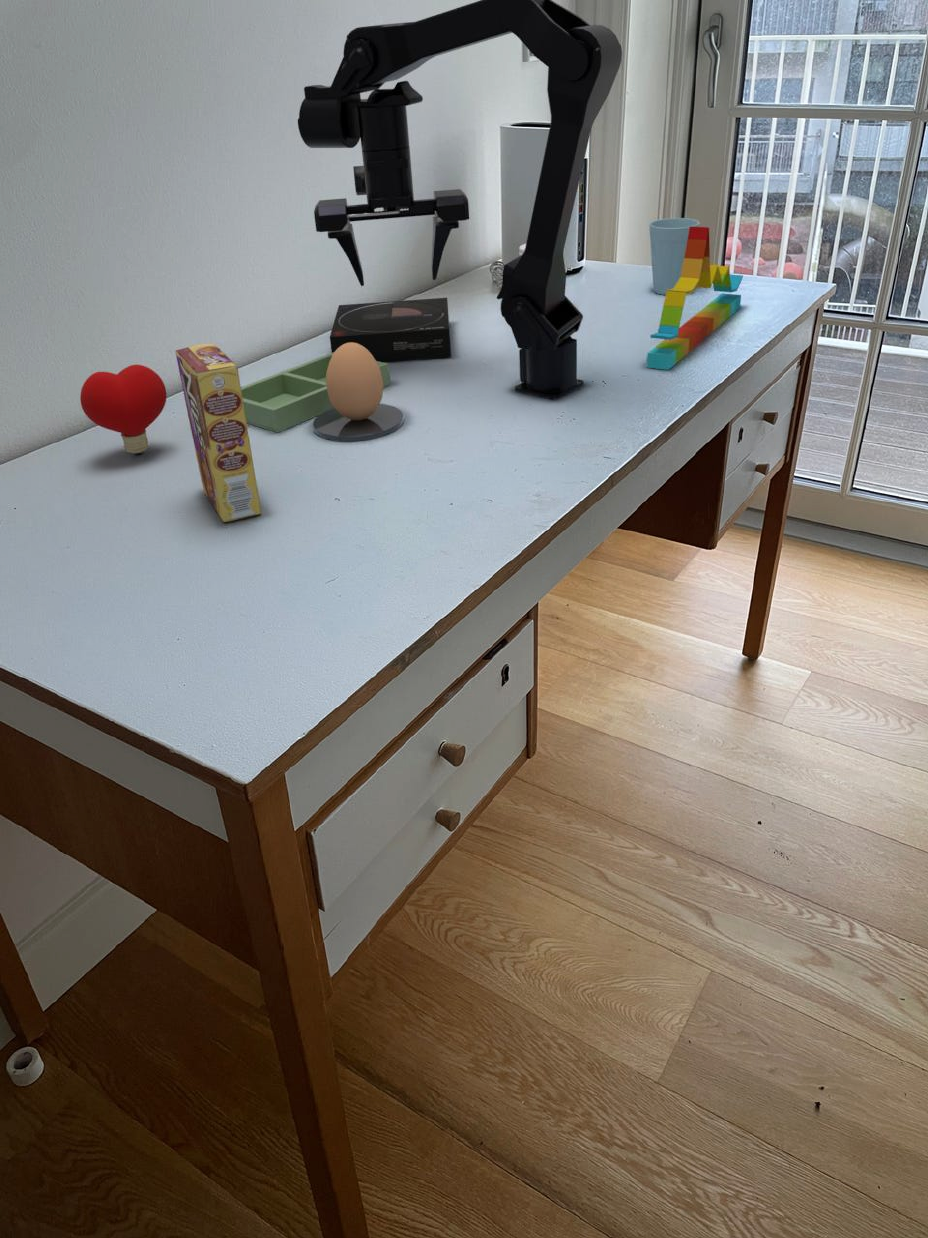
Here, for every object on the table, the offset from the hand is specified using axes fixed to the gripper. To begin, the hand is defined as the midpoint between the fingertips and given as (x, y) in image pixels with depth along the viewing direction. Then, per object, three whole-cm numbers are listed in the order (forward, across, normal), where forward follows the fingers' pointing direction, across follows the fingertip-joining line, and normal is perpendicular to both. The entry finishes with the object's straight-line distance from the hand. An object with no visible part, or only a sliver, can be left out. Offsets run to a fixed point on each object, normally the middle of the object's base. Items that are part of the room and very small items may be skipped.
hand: (398, 282), depth 125 cm
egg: (+12, +6, +17) cm, 21 cm away
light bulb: (+12, +32, +20) cm, 40 cm away
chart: (+12, -41, -6) cm, 43 cm away
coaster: (+12, +6, +17) cm, 22 cm away
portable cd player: (+12, +1, -14) cm, 19 cm away
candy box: (+12, +19, +36) cm, 43 cm away
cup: (+12, -44, -30) cm, 54 cm away
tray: (+12, +13, +7) cm, 19 cm away
